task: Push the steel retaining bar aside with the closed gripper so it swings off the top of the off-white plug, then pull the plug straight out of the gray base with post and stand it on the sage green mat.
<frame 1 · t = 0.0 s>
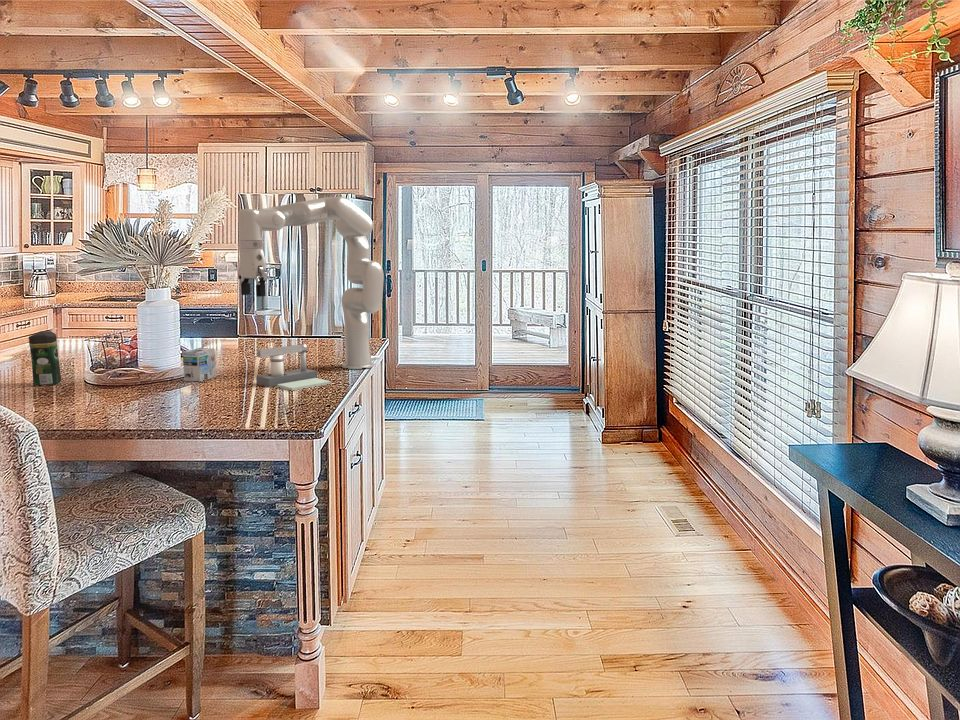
hand: (253, 295, 250), 31 cm above the kitchen island, tool pointing down, fingers open, 9 cm apart
plug: (277, 383, 256), resting in gray base with post
coffee jar: (47, 384, 252), on the kitchen island
silver metal bar: (283, 350, 256), point 12 cm above the kitchen island, hinge at 0.0°
mat: (304, 385, 252), on the kitchen island
light bulb box: (200, 379, 263), on the kitchen island
gray base with post: (287, 381, 259), on the kitchen island
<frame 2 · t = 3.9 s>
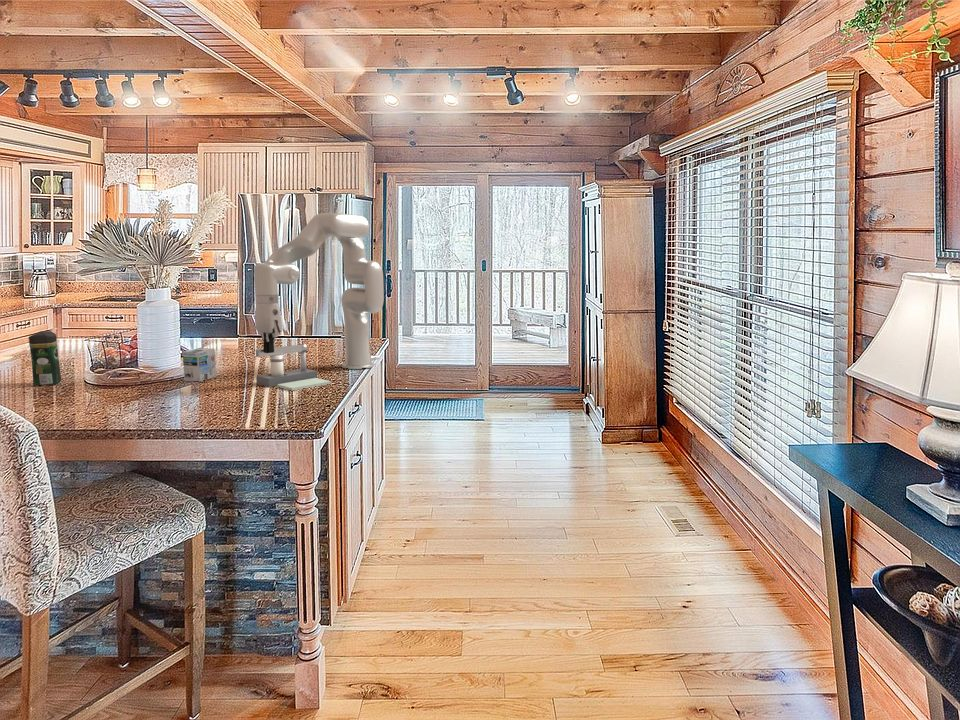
hand: (268, 352, 250), 12 cm above the kitchen island, tool pointing down, fingers closed
silver metal bar: (282, 350, 256), point 12 cm above the kitchen island, hinge at -3.2°, touching gripper
everything else where it was.
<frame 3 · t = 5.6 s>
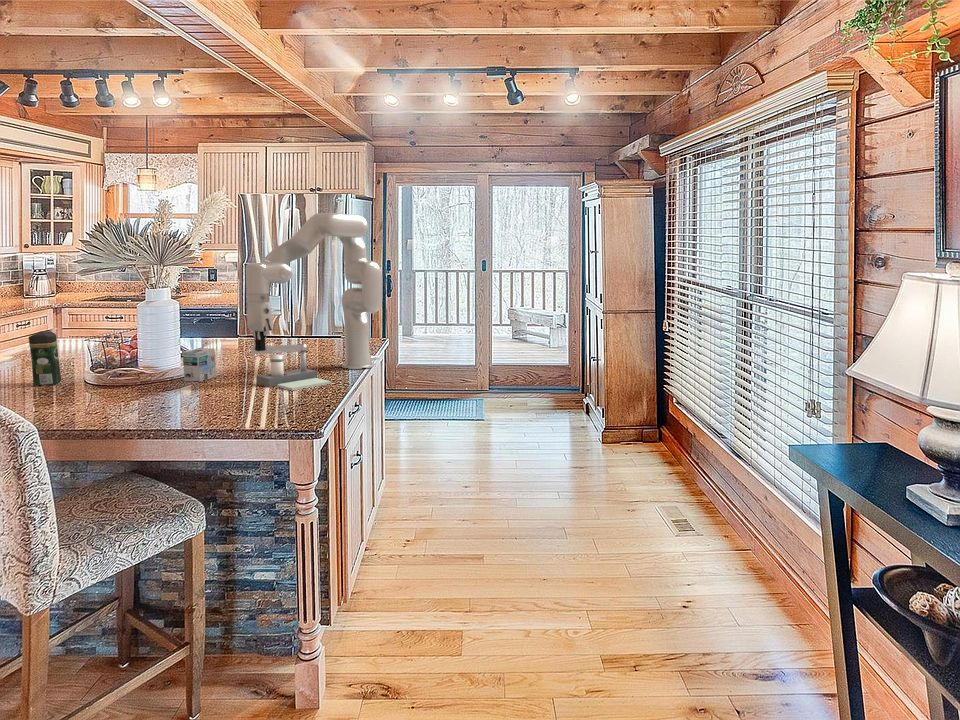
hand: (260, 350, 254), 12 cm above the kitchen island, tool pointing down, fingers closed
silver metal bar: (279, 349, 259), point 12 cm above the kitchen island, hinge at -26.2°, touching gripper
everything else where it was.
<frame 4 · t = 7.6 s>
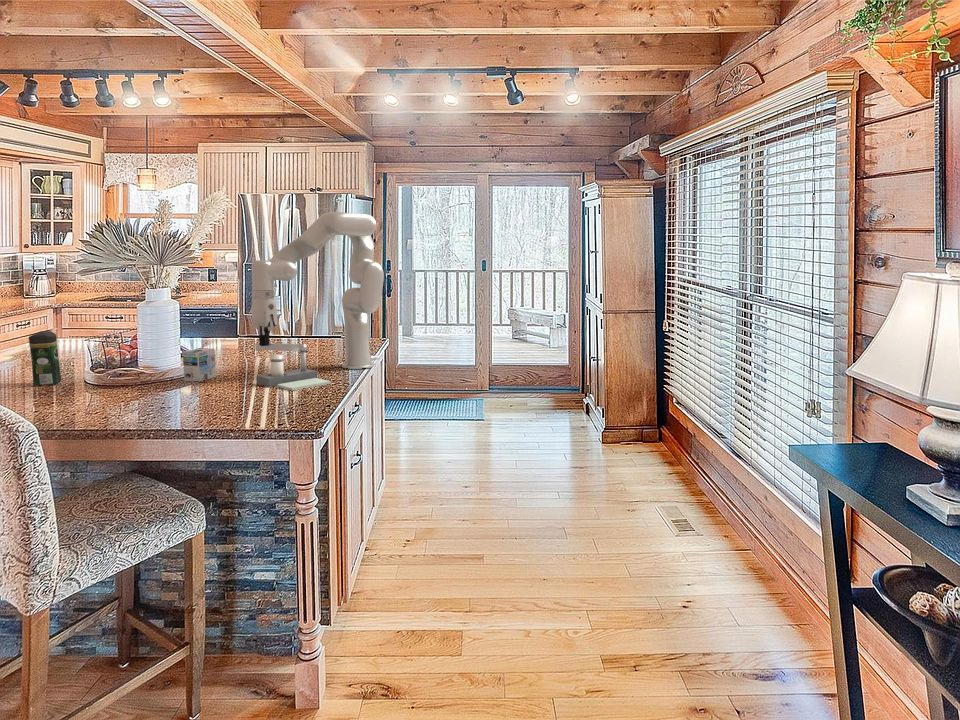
hand: (264, 345, 261), 12 cm above the kitchen island, tool pointing down, fingers closed
silver metal bar: (281, 347, 263), point 12 cm above the kitchen island, hinge at -57.6°, touching gripper
everything else where it was.
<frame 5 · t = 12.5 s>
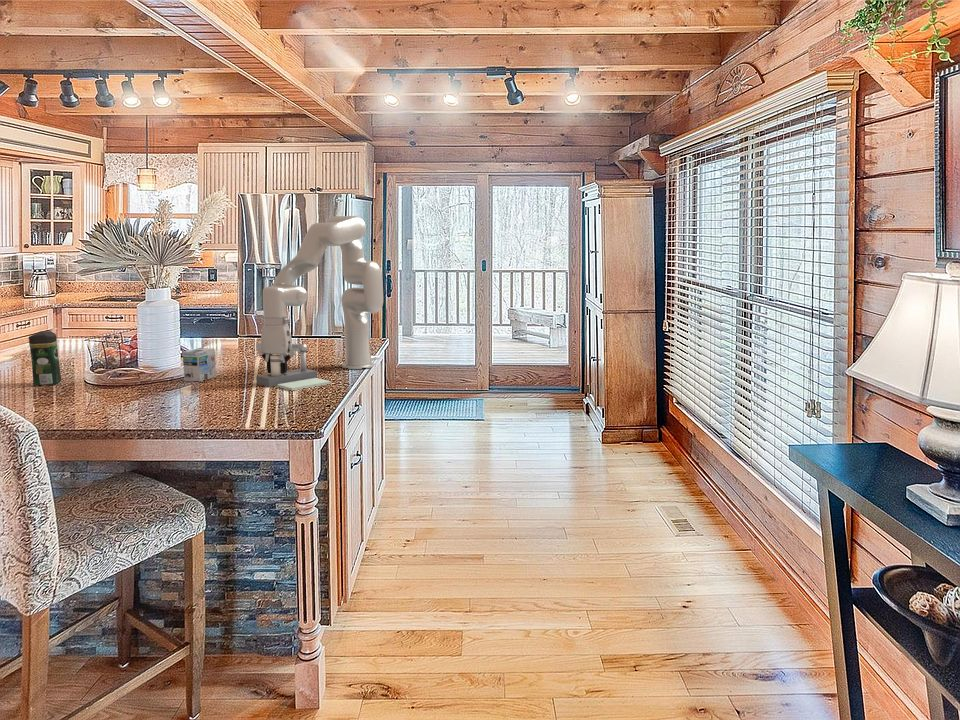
hand: (277, 372, 255), 4 cm above the kitchen island, tool pointing down, fingers closed on plug, 4 cm apart
plug: (277, 383, 256), resting in gray base with post, touching gripper
silver metal bar: (281, 346, 264), point 12 cm above the kitchen island, hinge at -59.7°
everything else where it was.
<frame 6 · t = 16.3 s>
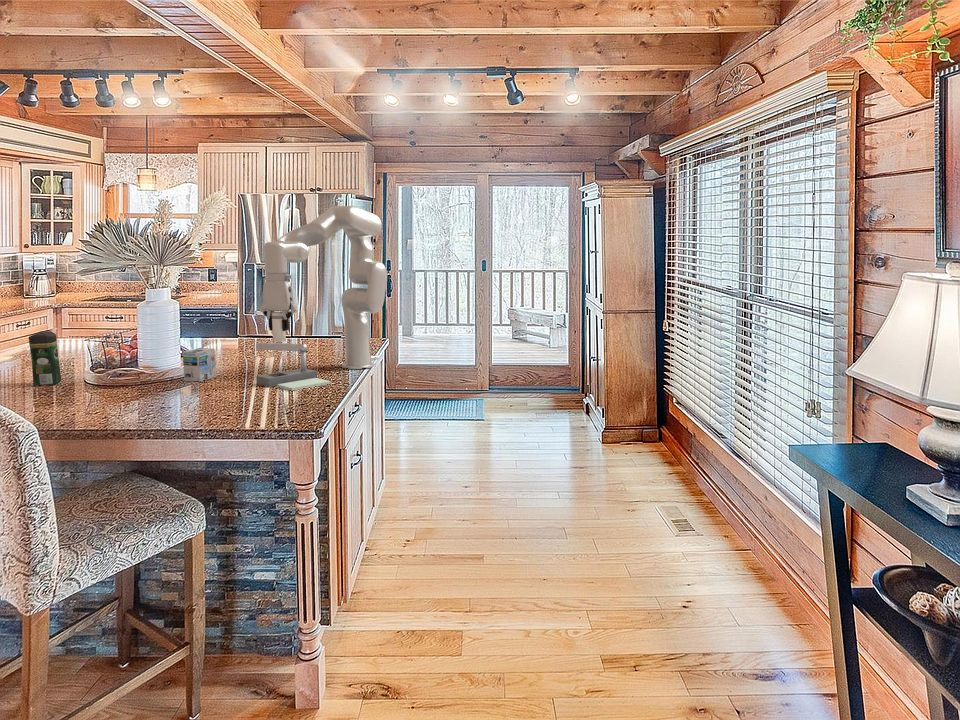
hand: (279, 329, 252), 19 cm above the kitchen island, tool pointing down, fingers closed on plug, 4 cm apart
plug: (279, 340, 253), point 15 cm above the kitchen island, touching gripper
everything else where it was.
when the fingers open (6 cm above the kitchen island, at t = 19.9 s): plug drops 1 cm, resting on mat.
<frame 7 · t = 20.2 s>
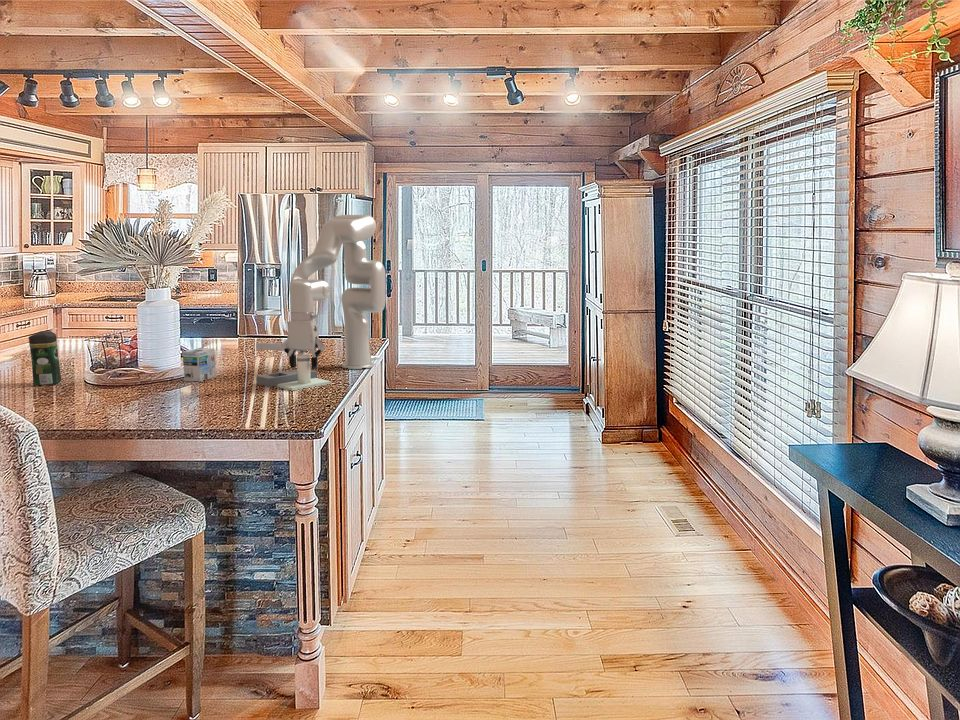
hand: (303, 367, 251), 7 cm above the kitchen island, tool pointing down, fingers open, 7 cm apart
plug: (304, 382, 252), point 1 cm above the kitchen island, touching mat
everything else where it was.
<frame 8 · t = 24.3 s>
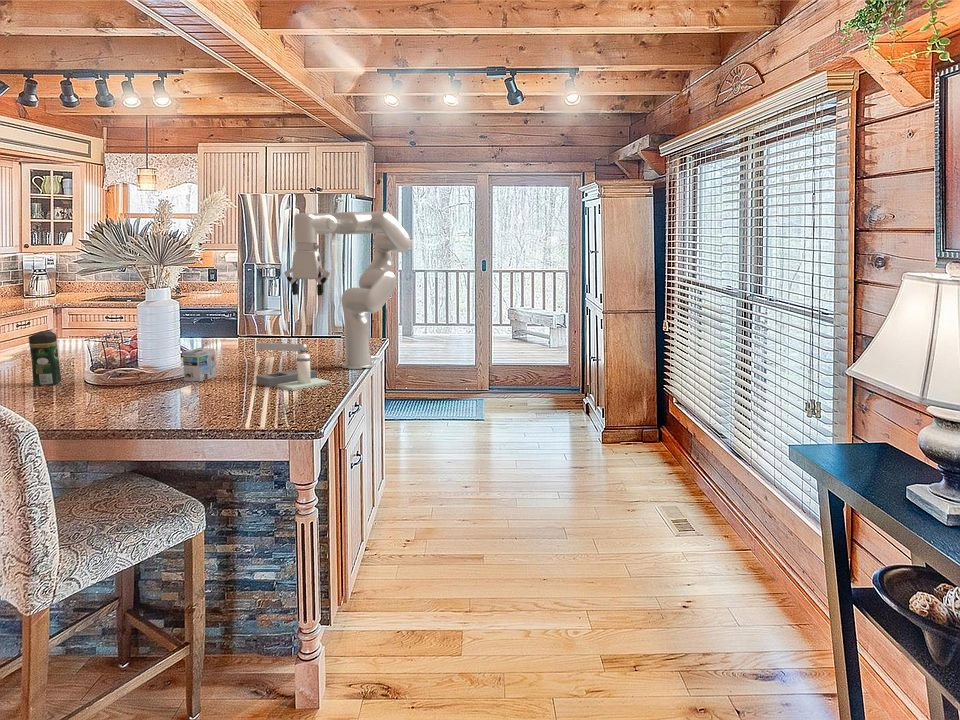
hand: (307, 294, 264), 30 cm above the kitchen island, tool pointing down, fingers open, 9 cm apart
nothing on the kitchen island moved.
at the end: silver metal bar at -60° (first picture: +0°); plug inside the target area on the mat (0.1 cm from its centre), point 1.0 cm above the mat's base; plug tilted 0° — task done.
